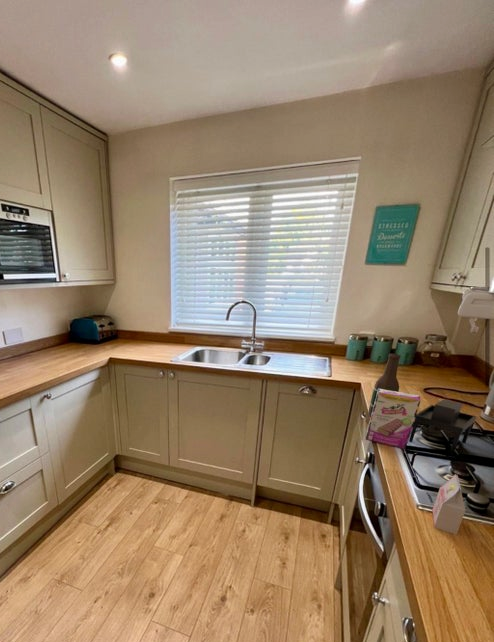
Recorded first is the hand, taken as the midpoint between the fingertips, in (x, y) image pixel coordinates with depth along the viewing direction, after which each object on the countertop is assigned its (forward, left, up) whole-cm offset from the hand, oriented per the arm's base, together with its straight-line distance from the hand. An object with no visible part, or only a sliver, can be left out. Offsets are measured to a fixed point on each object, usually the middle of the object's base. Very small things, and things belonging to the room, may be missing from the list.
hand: (492, 334), depth 102 cm
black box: (+2, +16, -25) cm, 30 cm away
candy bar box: (+12, +30, -33) cm, 46 cm away
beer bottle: (+22, +10, -33) cm, 41 cm away
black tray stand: (+2, +16, -33) cm, 37 cm away
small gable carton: (-11, +59, -33) cm, 69 cm away
